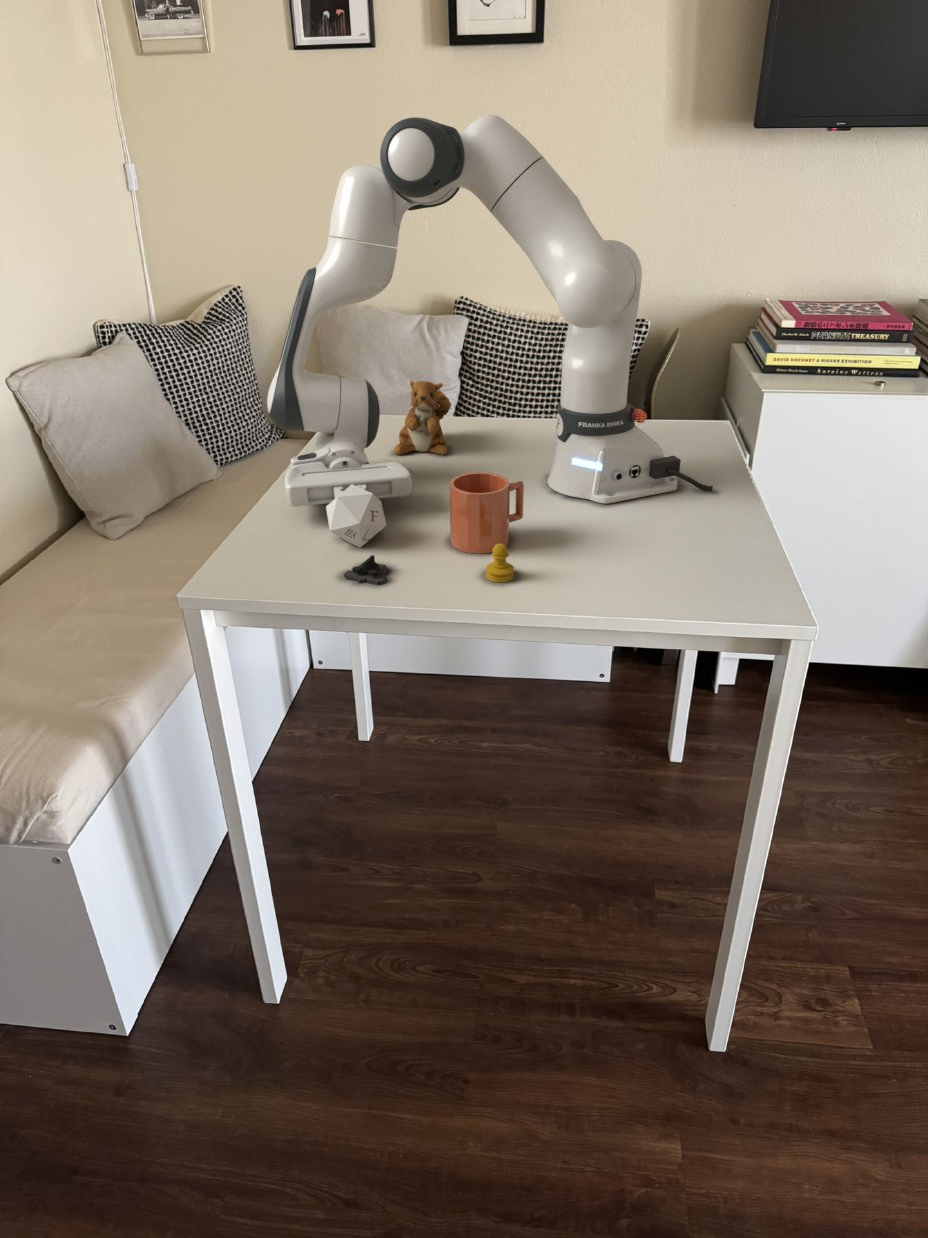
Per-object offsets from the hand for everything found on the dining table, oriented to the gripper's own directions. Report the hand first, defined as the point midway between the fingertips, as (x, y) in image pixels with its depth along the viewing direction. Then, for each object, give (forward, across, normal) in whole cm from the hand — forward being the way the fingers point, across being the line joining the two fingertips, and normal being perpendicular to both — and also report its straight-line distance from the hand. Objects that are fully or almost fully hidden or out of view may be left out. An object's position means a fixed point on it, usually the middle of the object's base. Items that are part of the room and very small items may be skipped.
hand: (353, 502), depth 138 cm
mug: (+7, -20, -5) cm, 22 cm away
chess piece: (+19, -18, -5) cm, 27 cm away
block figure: (+14, 0, -5) cm, 15 cm away
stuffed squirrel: (-38, -18, -5) cm, 42 cm away
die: (+2, 0, -5) cm, 6 cm away
